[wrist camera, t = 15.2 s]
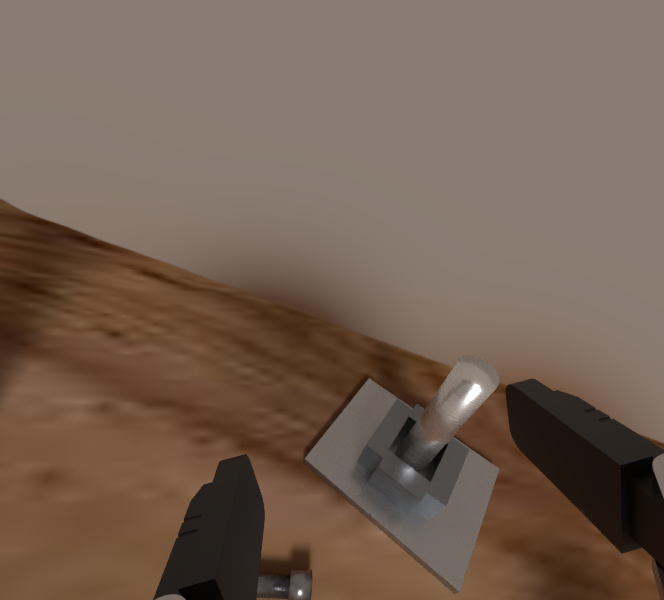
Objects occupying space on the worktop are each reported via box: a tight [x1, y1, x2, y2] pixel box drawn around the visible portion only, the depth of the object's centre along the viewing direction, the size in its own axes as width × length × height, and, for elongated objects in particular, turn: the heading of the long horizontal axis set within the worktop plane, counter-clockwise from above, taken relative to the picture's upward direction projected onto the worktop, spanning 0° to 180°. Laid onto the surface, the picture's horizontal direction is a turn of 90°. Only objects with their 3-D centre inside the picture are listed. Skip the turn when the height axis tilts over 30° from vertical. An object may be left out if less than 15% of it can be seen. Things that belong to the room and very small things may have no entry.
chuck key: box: [256, 569, 312, 600], centre depth 25 cm, size 10×6×2 cm, turn 88°
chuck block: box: [304, 378, 499, 594], centre depth 32 cm, size 16×12×5 cm
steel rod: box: [394, 356, 499, 473], centre depth 28 cm, size 3×3×16 cm
